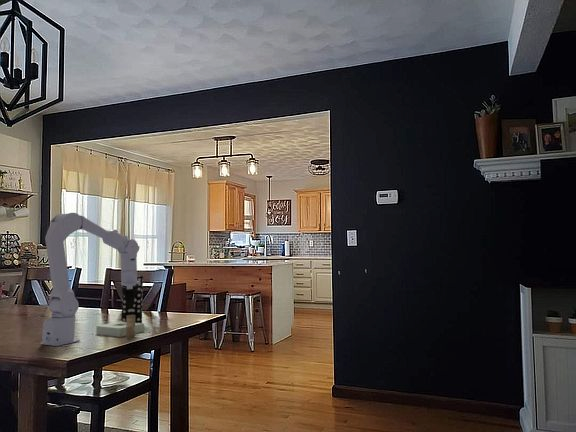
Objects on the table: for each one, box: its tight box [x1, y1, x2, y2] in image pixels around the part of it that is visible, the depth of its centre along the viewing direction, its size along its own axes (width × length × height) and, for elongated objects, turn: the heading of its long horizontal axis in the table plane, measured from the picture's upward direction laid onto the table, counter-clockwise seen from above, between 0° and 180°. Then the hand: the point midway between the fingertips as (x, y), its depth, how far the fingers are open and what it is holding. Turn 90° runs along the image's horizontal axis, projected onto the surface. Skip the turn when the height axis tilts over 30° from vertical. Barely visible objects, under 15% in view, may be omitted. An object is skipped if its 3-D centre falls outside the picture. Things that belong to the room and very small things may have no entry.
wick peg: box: [125, 315, 136, 340], centre depth 166 cm, size 3×3×8 cm
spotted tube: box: [121, 275, 144, 323], centre depth 198 cm, size 8×8×20 cm
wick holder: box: [95, 320, 145, 338], centre depth 176 cm, size 12×12×3 cm
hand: (130, 306), depth 178 cm, fingers open, 7 cm apart
